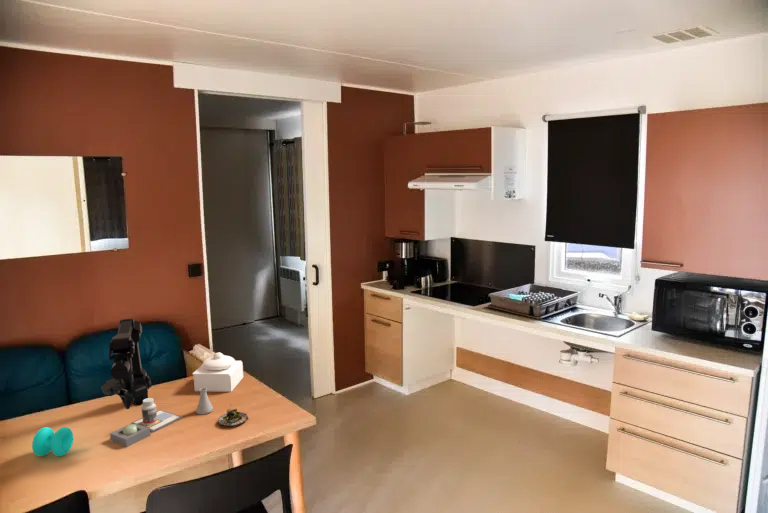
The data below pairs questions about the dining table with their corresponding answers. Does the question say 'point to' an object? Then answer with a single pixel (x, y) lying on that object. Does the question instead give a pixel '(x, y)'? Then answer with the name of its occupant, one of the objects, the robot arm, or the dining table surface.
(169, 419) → the colouring board
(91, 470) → the dining table surface
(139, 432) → the button housing
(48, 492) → the dining table surface
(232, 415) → the plate of food
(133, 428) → the button
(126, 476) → the dining table surface
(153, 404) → the pill bottle
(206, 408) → the flask
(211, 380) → the butter dish
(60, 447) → the donuts
